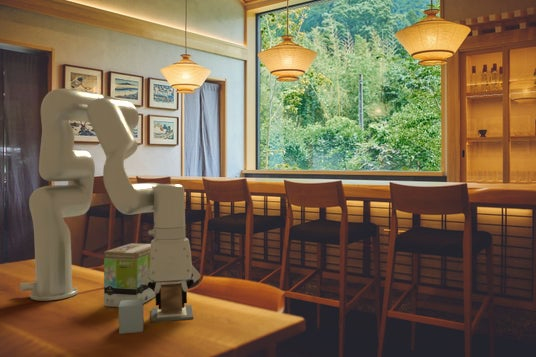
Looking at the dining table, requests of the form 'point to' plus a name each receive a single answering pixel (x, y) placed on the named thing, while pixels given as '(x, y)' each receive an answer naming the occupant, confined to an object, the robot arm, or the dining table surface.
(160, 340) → the dining table surface
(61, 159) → the robot arm
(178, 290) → the walnut block
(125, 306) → the blue-grey block
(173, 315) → the slate mat
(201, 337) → the dining table surface
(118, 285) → the tea box
